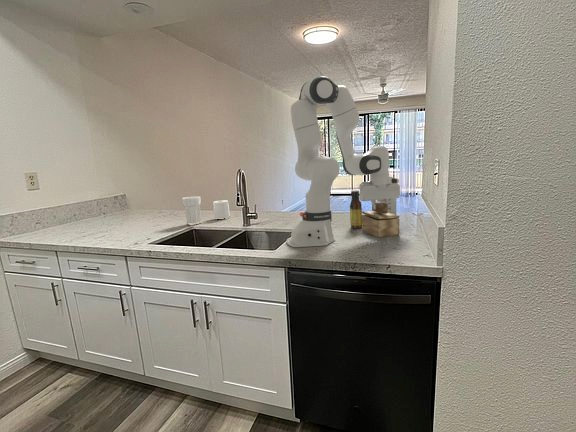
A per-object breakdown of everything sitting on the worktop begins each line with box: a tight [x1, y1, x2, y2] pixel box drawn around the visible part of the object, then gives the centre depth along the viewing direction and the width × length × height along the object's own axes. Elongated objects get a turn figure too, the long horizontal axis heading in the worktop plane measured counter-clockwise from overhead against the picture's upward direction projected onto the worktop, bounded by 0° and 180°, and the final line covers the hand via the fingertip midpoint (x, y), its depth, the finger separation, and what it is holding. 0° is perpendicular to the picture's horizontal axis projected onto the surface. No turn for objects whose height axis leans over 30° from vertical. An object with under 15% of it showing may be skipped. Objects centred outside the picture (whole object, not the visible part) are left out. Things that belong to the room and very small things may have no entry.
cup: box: [181, 195, 202, 224], centre depth 210 cm, size 11×11×17 cm
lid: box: [362, 210, 400, 219], centre depth 160 cm, size 11×17×1 cm
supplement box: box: [376, 198, 397, 215], centre depth 174 cm, size 10×9×17 cm
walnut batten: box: [371, 200, 387, 214], centre depth 160 cm, size 3×10×4 cm, turn 12°
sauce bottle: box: [349, 189, 363, 229], centre depth 173 cm, size 7×6×20 cm
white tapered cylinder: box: [212, 199, 231, 219], centre depth 223 cm, size 10×10×12 cm
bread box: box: [361, 214, 400, 238], centre depth 161 cm, size 11×17×8 cm
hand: (379, 208), depth 160 cm, fingers closed on walnut batten, 3 cm apart
